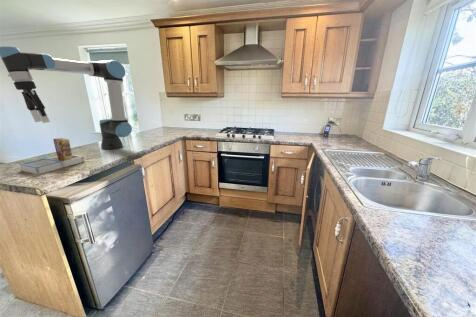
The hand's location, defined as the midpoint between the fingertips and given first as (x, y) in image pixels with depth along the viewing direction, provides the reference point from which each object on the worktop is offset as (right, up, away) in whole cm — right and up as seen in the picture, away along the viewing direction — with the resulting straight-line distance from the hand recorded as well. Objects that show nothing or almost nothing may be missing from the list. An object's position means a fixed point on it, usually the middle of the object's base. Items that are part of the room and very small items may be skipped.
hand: (42, 122), depth 108 cm
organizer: (-1, -25, +9) cm, 26 cm away
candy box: (+1, -23, +14) cm, 27 cm away
